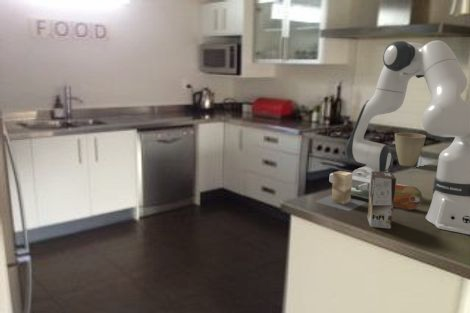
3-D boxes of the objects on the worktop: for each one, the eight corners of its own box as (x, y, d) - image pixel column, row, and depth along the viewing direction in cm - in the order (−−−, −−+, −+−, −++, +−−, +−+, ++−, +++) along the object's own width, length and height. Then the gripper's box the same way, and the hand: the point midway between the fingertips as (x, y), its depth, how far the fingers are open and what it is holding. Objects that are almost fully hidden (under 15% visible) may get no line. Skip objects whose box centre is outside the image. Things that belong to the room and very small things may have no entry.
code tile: (367, 202, 152) (367, 202, 152) (348, 211, 142) (348, 210, 142) (333, 194, 161) (333, 193, 161) (314, 202, 151) (314, 201, 151)
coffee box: (391, 229, 127) (396, 178, 124) (369, 227, 128) (374, 177, 125) (387, 219, 136) (391, 171, 132) (366, 217, 137) (371, 170, 134)
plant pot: (391, 160, 225) (394, 132, 222) (421, 163, 220) (424, 133, 217) (391, 166, 212) (394, 135, 208) (423, 169, 207) (427, 138, 203)
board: (387, 194, 163) (387, 193, 163) (374, 200, 154) (374, 199, 154) (354, 187, 172) (355, 185, 172) (340, 193, 164) (340, 191, 163)
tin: (375, 204, 151) (377, 181, 149) (378, 201, 154) (380, 180, 152) (419, 212, 143) (422, 189, 141) (421, 209, 146) (424, 186, 144)
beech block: (350, 202, 152) (352, 173, 150) (343, 205, 148) (345, 175, 146) (337, 198, 155) (340, 170, 153) (331, 201, 151) (333, 172, 149)
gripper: (339, 166, 169) (321, 172, 159) (388, 175, 155) (372, 182, 145) (338, 181, 170) (320, 187, 160) (387, 191, 156) (370, 199, 147)
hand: (345, 185), depth 153 cm, fingers open, 8 cm apart
